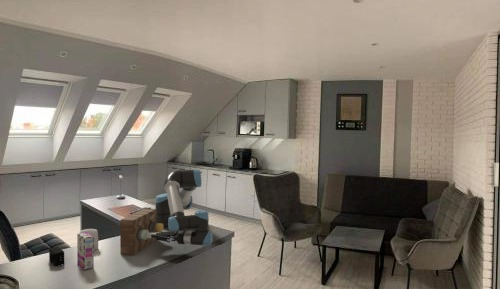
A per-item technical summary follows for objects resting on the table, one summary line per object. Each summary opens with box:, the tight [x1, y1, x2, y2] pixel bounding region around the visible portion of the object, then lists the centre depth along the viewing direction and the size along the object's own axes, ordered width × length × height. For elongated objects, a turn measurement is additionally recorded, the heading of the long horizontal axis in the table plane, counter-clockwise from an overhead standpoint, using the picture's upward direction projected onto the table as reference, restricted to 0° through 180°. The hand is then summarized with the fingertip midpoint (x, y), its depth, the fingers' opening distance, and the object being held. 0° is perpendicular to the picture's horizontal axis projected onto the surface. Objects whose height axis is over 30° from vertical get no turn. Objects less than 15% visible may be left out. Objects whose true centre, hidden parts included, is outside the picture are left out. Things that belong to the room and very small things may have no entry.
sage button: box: [140, 229, 149, 240], centre depth 185 cm, size 6×3×6 cm, turn 170°
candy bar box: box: [76, 232, 95, 271], centre depth 164 cm, size 11×5×16 cm, turn 45°
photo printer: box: [79, 228, 99, 251], centre depth 187 cm, size 10×4×12 cm, turn 104°
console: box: [119, 208, 157, 256], centre depth 193 cm, size 28×10×20 cm, turn 170°
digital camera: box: [48, 246, 65, 267], centre depth 168 cm, size 10×5×7 cm, turn 47°
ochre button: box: [155, 223, 164, 234], centre depth 199 cm, size 6×3×6 cm, turn 170°
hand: (147, 235), depth 185 cm, fingers closed
